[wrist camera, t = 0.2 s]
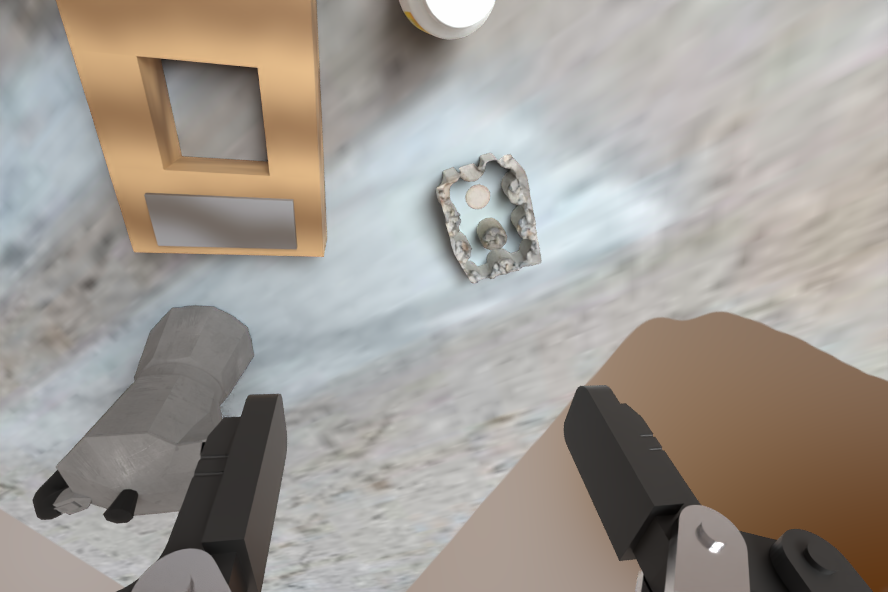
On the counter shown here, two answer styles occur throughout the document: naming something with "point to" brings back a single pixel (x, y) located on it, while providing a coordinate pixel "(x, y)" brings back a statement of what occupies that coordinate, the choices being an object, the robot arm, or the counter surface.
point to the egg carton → (492, 220)
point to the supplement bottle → (447, 16)
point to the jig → (154, 133)
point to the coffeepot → (154, 421)
